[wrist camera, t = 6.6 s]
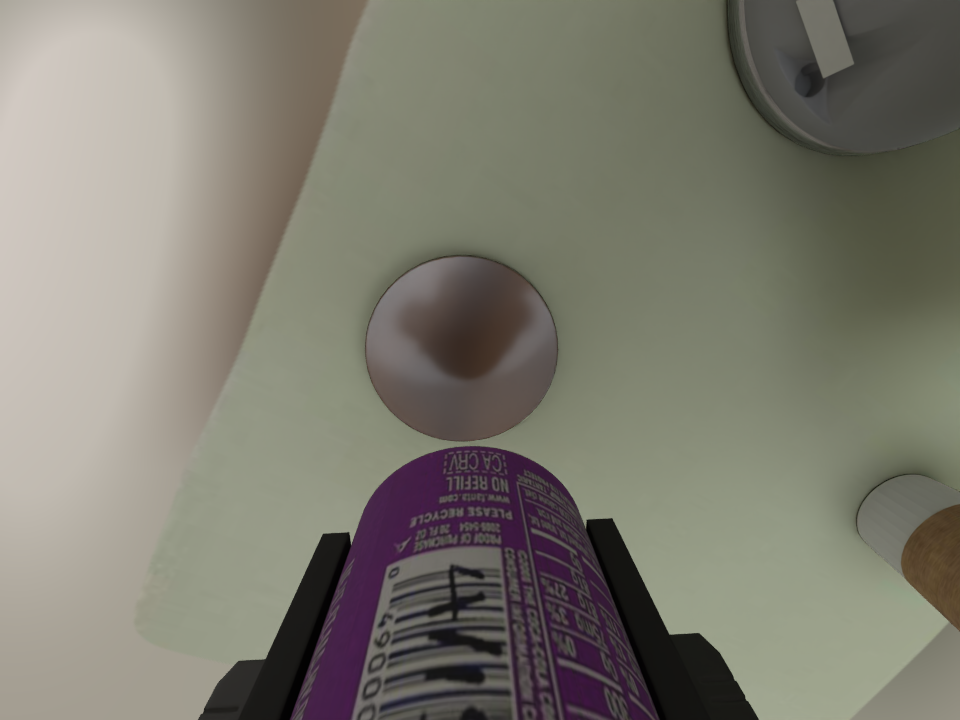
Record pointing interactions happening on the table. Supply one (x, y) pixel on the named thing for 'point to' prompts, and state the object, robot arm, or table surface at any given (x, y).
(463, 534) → the beverage can
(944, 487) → the coffee cup
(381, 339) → the coaster
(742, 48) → the robot arm
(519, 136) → the table surface
